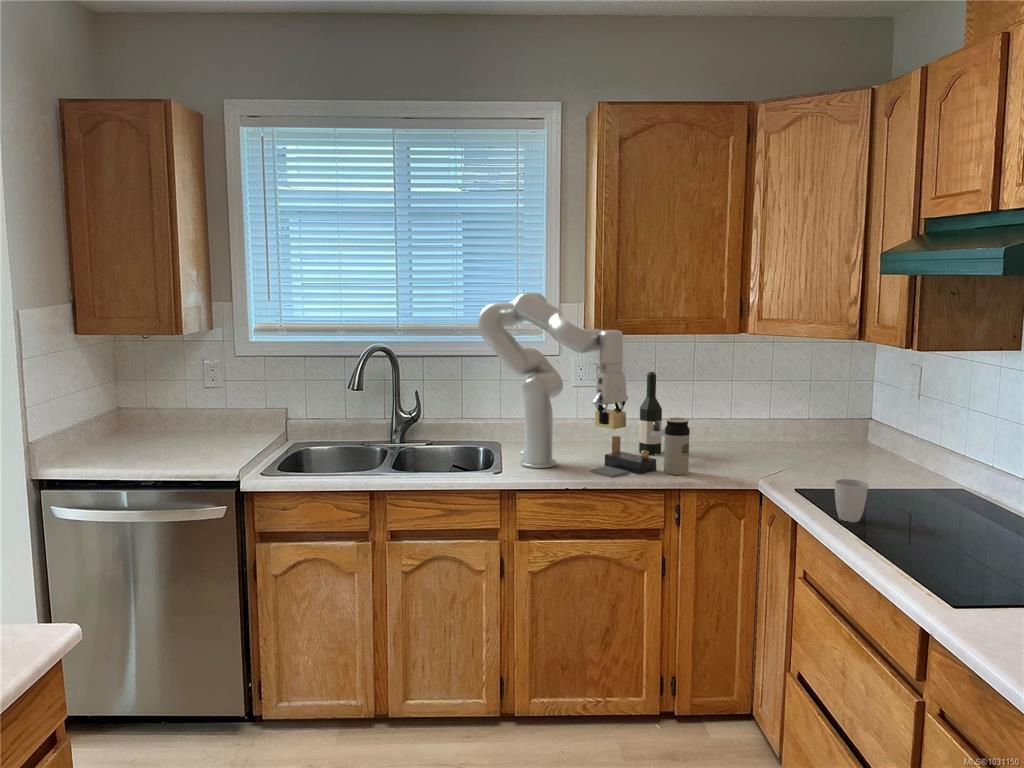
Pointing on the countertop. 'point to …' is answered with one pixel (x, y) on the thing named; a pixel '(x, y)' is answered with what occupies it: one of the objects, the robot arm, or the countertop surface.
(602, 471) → the rubber mat
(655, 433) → the bar
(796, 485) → the countertop surface
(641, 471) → the dark slate base plate
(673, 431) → the travel mug
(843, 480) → the cup
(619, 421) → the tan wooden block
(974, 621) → the countertop surface
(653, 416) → the wine bottle
